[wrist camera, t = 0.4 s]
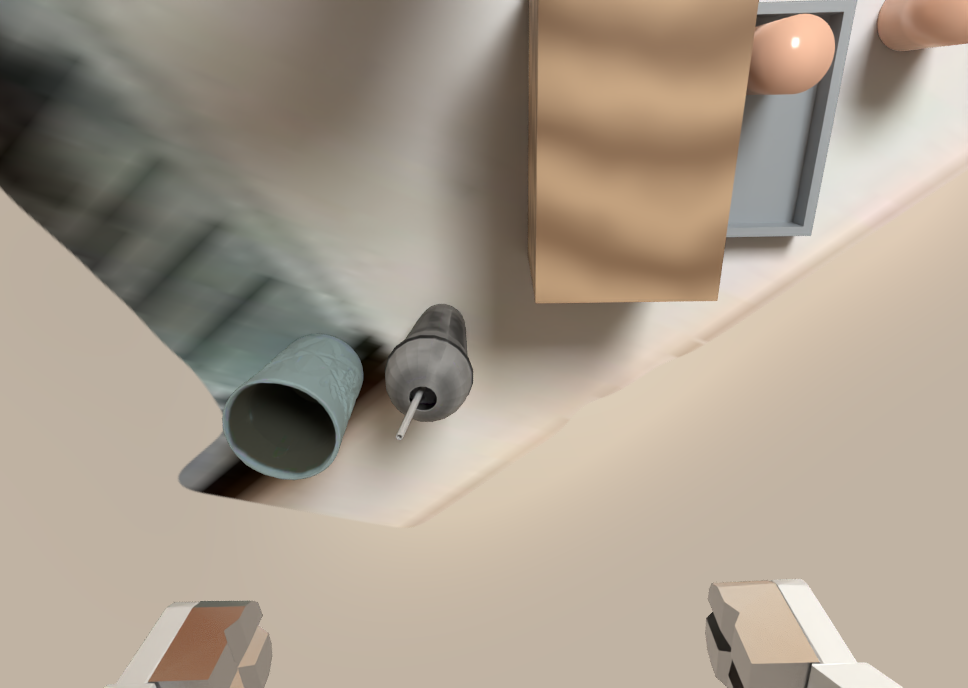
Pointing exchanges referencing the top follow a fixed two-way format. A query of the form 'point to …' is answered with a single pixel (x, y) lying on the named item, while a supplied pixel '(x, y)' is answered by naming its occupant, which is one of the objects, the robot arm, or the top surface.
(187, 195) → the top surface
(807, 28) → the peach glossy rounded part
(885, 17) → the peach rounded capsule
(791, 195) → the tray
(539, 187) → the open wooden box
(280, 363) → the teal cup
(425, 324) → the beverage cup
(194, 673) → the robot arm
